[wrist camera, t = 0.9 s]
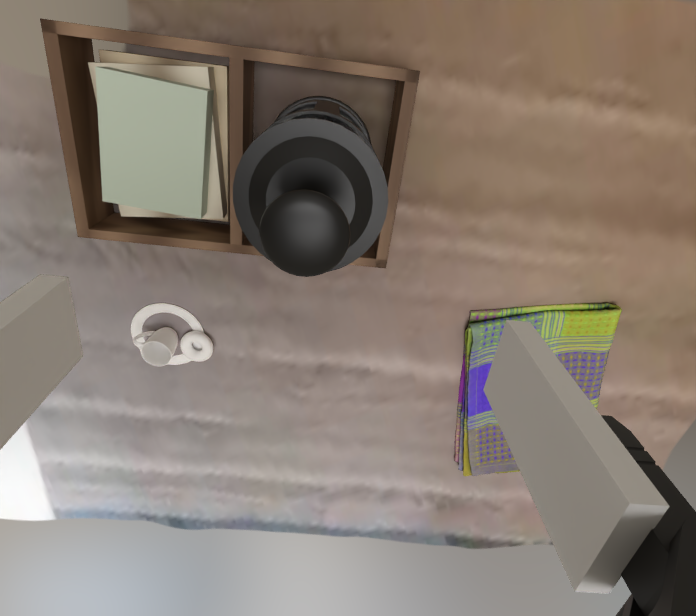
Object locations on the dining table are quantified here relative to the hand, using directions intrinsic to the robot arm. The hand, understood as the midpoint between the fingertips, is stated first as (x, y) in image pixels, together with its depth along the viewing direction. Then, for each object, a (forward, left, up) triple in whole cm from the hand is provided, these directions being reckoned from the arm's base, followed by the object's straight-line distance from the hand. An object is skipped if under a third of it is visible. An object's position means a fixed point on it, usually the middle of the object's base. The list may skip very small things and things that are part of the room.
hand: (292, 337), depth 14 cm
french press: (0, 0, -31) cm, 31 cm away
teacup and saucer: (-14, -24, -31) cm, 42 cm away
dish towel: (+28, -25, -31) cm, 49 cm away
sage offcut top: (-13, 0, -27) cm, 30 cm away
